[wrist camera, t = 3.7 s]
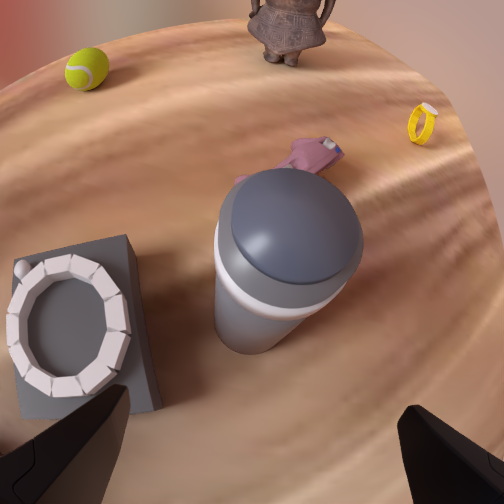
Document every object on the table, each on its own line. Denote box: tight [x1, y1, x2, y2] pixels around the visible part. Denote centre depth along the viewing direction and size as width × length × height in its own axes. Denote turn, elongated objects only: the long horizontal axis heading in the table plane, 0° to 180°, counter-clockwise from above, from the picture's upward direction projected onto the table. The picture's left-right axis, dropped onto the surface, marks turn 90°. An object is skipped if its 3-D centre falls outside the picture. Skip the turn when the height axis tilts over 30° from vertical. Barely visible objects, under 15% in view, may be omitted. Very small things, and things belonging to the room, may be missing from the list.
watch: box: [407, 103, 438, 145], centre depth 34 cm, size 6×3×6 cm, turn 170°
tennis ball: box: [65, 48, 109, 91], centre depth 30 cm, size 7×7×7 cm
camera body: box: [6, 234, 163, 419], centre depth 17 cm, size 12×10×5 cm
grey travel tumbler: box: [214, 168, 363, 355], centre depth 16 cm, size 5×5×14 cm
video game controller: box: [234, 136, 344, 186], centre depth 26 cm, size 10×5×7 cm
